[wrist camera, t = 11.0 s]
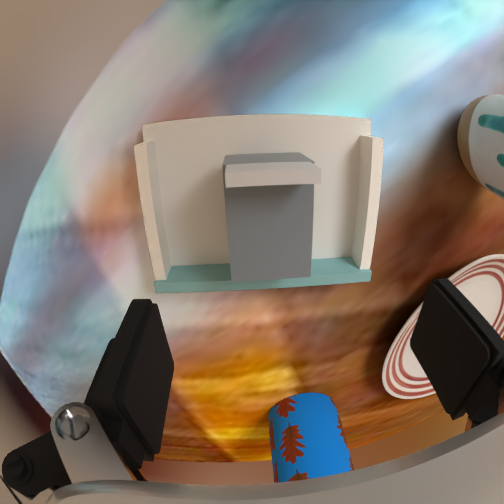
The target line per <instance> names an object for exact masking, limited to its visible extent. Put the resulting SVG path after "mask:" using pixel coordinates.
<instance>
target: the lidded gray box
mask: <svg viewBox="0 0 504 504" xmlns="http://www.w3.org/2000/svg"><path fill="white" fill-rule="evenodd" d="M222 169H223V183H224V196H225V209H226V222H227V234H228V246H229V258H230V269H231V280H232V282H241V281H258V280H273V279H288V278H302V277H310V276H311V259H312V239H313V212H314V184H321V168H319V167H318V166H316V165H315V164H314V161H313V160H311V159H309V158H308V157H306V156H305V155H303V154H301V153H300V152H287V153H256V154H237V155H225V158H224V161H223V164H222Z"/></svg>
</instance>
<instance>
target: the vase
mask: <svg viewBox="0 0 504 504" xmlns="http://www.w3.org/2000/svg"><path fill="white" fill-rule="evenodd" d="M457 142H458V149H459V153H460V156H461V159H462V162H463V164H464V166H465V168H466V169H467V171H468V172H469V174H470V175H471V176H472V177H473V178H474V179H475V180H476V181H477V182H478V183H479V184H480V185H482V186H483V187H485V188H486V189H487V190H489V191H491V192H492V193H494V194H495V195H497V196H499V197H500V198H502V199H504V95H487V96H482V97H479V98H477V99H475V100H474V101H472V102H471V103H470V104H469V105H468V106H467V107H466V108H465V110H464V111H463V113H462V115H461V118H460V121H459V124H458V130H457Z"/></svg>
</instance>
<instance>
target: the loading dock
mask: <svg viewBox="0 0 504 504" xmlns="http://www.w3.org/2000/svg"><path fill="white" fill-rule="evenodd" d="M142 129H143V141H144V142H143V143H140V144H137V145H134V153H135V162H136V170H137V178H138V186H139V193H140V200H141V207H142V213H143V219H144V225H145V231H146V236H147V242H148V247H149V252H150V257H151V262H152V267H153V272H154V277H155V282H154V286H155V290H156V293H179V292H209V291H233V290H253V289H271V288H288V287H303V286H317V285H331V284H343V283H355V282H367V281H370V279H371V274H372V271H371V270H370V265H371V259H372V253H373V246H374V239H375V232H376V225H377V217H378V208H379V199H380V188H381V177H382V163H383V145H384V139H382V138H378V137H373V136H371V119H365V118H355V117H342V116H327V115H302V114H255V115H230V116H214V117H202V118H191V119H181V120H173V121H165V122H157V123H150V124H143V125H142ZM287 152H300V153H301V154H303V155H305V156H306V157H308V158H309V159H311V160H313V161H314V164H315V165H316V166H318V167H319V168H321V184H314V212H313V239H312V259H311V276H310V277H302V278H288V279H273V280H258V281H241V282H232V280H231V269H230V258H229V246H228V234H227V222H226V209H225V196H224V183H223V169H222V164H223V161H224V158H225V155H237V154H256V153H287Z"/></svg>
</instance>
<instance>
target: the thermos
mask: <svg viewBox="0 0 504 504" xmlns="http://www.w3.org/2000/svg"><path fill="white" fill-rule="evenodd" d="M269 434H270V444H271V454H272V464H273V473H274V483H280V482H289V481H298V480H305V479H312V478H318V477H324V476H329V475H335V474H340V473H345V472H349V471H354V468H353V464H352V461H351V457H350V453H349V449H348V446H347V442H346V438H345V435H344V431H343V428H342V424H341V421H340V418H339V415H338V412H337V410H336V407H335V404H334V402H333V400H332V399H331V397H329V396H327V395H325V394H320V393H302V394H298V395H294V396H290V397H287V398H285V399H283V400H281V401H279V402H278V403H277V404H275V405H274V406H273V407H272V408H271V410H270V412H269Z"/></svg>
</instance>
